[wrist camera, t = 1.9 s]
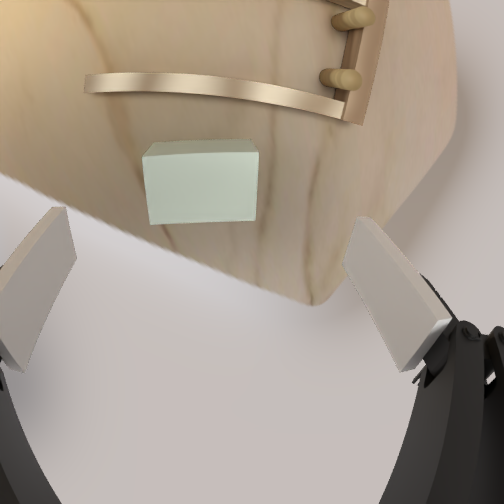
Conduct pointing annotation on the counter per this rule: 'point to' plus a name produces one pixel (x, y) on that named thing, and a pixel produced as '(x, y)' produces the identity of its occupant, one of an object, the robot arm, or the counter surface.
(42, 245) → the robot arm
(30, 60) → the counter surface
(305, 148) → the counter surface
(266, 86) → the wooden u-shaped frame
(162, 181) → the block
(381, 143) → the counter surface
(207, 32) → the counter surface
